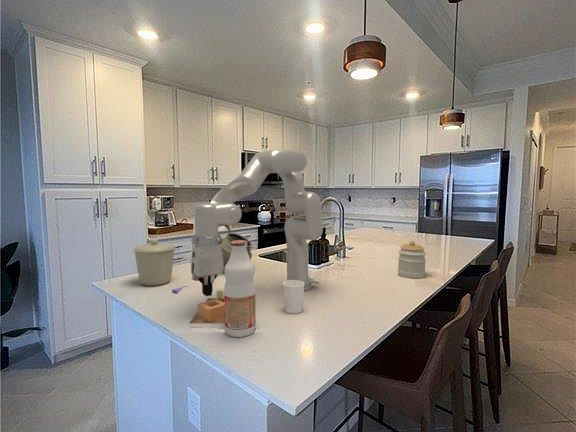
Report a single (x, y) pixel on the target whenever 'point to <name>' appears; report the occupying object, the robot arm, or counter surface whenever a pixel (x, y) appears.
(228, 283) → the fruit juice
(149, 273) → the canister
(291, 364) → the counter surface
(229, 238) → the pot
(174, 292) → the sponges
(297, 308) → the white cup
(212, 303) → the collar
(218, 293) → the short gold cylinder
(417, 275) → the jar
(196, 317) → the walnut board
